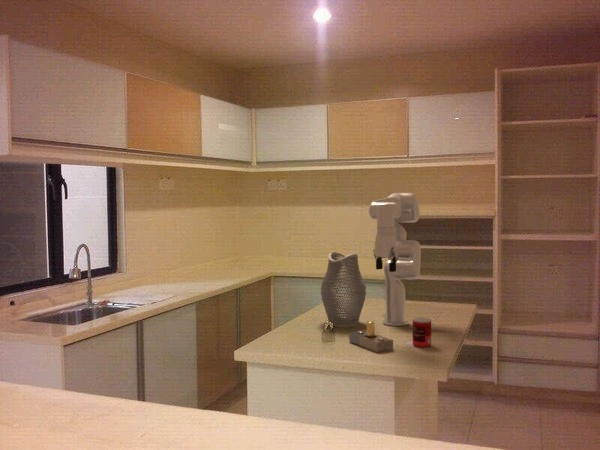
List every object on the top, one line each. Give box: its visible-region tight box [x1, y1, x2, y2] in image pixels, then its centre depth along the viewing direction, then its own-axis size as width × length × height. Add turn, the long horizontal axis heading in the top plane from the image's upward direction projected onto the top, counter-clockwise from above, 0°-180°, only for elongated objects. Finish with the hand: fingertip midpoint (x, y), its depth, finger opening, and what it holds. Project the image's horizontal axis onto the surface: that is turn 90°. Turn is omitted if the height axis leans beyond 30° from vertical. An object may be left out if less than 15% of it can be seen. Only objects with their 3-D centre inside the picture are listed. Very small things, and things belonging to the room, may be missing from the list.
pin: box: [366, 320, 375, 338], centre depth 242 cm, size 3×3×10 cm
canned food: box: [412, 317, 432, 349], centre depth 242 cm, size 8×8×11 cm
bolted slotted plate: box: [349, 330, 394, 353], centre depth 242 cm, size 20×8×5 cm, turn 28°
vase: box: [320, 251, 367, 328], centre depth 286 cm, size 22×22×35 cm
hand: (385, 270), depth 255 cm, fingers open, 9 cm apart
